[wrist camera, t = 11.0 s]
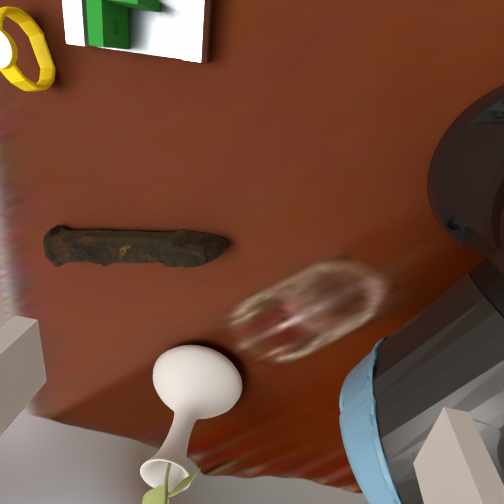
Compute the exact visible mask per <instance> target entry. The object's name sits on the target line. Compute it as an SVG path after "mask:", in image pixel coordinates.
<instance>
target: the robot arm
mask: <svg viewBox="0 0 504 504" xmlns="http://www.w3.org/2000/svg"><path fill="white" fill-rule="evenodd" d="M427 190H428V198H429V202H430V206H431V208H432V211H433V213H434V215H435V217H436V219H437V220H438V222H439V223H440V224H441V226H442V227H443V228H444V229H445V230H446V231H447V232H448V233H449V235H450V236H451V237H452V238H453V239H454V240H456V241H457V242H458V243H459V244H461V245H462V246H464V247H466V248H467V249H469V250H471V251H473V252H475V253H478V254H480V255H483V256H486V257H488V258H486V259H485V260H484V261H483V262H481V263H480V264H479V265H478V266H477V267H475V268H474V269H473V270H471V271H470V272H468V273H467V274H466V275H465V276H463V277H462V278H461V279H460V280H458V281H457V282H456V283H455V284H454V285H452V286H451V287H450V288H449V289H447V290H446V291H445V292H444V293H443V294H441V295H440V296H439V297H438V298H436V299H435V300H434V301H433V302H432V303H430V304H429V305H428V306H427V307H425V308H424V309H423V310H422V311H421V312H419V313H418V314H417V315H416V316H414V317H413V318H412V319H411V320H410V321H408V322H407V323H406V324H405V325H403V326H402V327H401V328H400V329H399V330H397V331H396V332H395V333H394V334H392V335H391V336H389V337H386V338H383V339H381V340H379V341H378V342H377V343H376V344H375V346H374V348H373V349H372V351H371V352H370V353H369V354H368V355H367V356H366V357H365V358H364V359H363V360H362V361H361V362H359V363H358V364H357V365H356V366H355V367H354V368H353V369H352V370H351V371H350V372H349V374H348V375H347V377H346V379H345V381H344V383H343V386H342V388H341V392H340V402H339V406H340V412H341V414H340V418H339V421H340V429H341V434H342V439H343V443H344V447H345V451H346V454H347V457H348V460H349V463H350V466H351V468H352V470H353V473H354V475H355V477H356V480H357V482H358V484H359V486H360V488H361V490H362V492H363V494H364V496H365V497H366V499H367V501H368V502H369V504H504V86H501V87H499V88H497V89H495V90H493V91H491V92H490V93H488V94H486V95H485V96H483V97H481V98H480V99H479V100H477V101H476V102H474V103H473V104H472V105H471V106H469V107H468V108H467V109H466V110H465V111H464V112H463V113H462V114H461V115H460V116H459V117H458V118H457V119H456V120H455V121H454V122H453V123H452V125H451V126H450V127H449V128H448V130H447V131H446V132H445V134H444V135H443V137H442V139H441V140H440V142H439V144H438V146H437V148H436V150H435V152H434V155H433V157H432V160H431V164H430V168H429V173H428V182H427ZM46 381H47V380H46V373H45V366H44V360H43V353H42V346H41V339H40V332H39V325H38V320H35V319H30V318H25V317H21V316H14V317H13V318H12V319H11V320H10V321H8V322H7V323H6V324H5V325H3V326H2V327H1V328H0V436H1V434H2V433H3V432H4V431H5V430H6V429H7V427H8V426H9V425H10V424H11V423H12V422H13V420H14V419H15V418H16V417H17V416H18V414H19V413H20V412H21V411H22V410H23V409H24V407H25V406H26V405H27V404H28V403H29V401H30V400H31V399H32V398H33V397H34V396H35V394H36V393H37V392H38V391H39V390H40V388H41V387H42V386H43V385H44V384H45V383H46Z"/></svg>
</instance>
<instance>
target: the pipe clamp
mask: <svg viewBox="0 0 504 504" xmlns="http://www.w3.org/2000/svg"><path fill="white" fill-rule="evenodd" d="M86 6H87V22H88V39H89V45H93V46H99V47H107V48H117V49H127V50H129V30H128V8H133V9H139V10H146V11H153V12H160V1H158V0H86Z"/></svg>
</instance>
